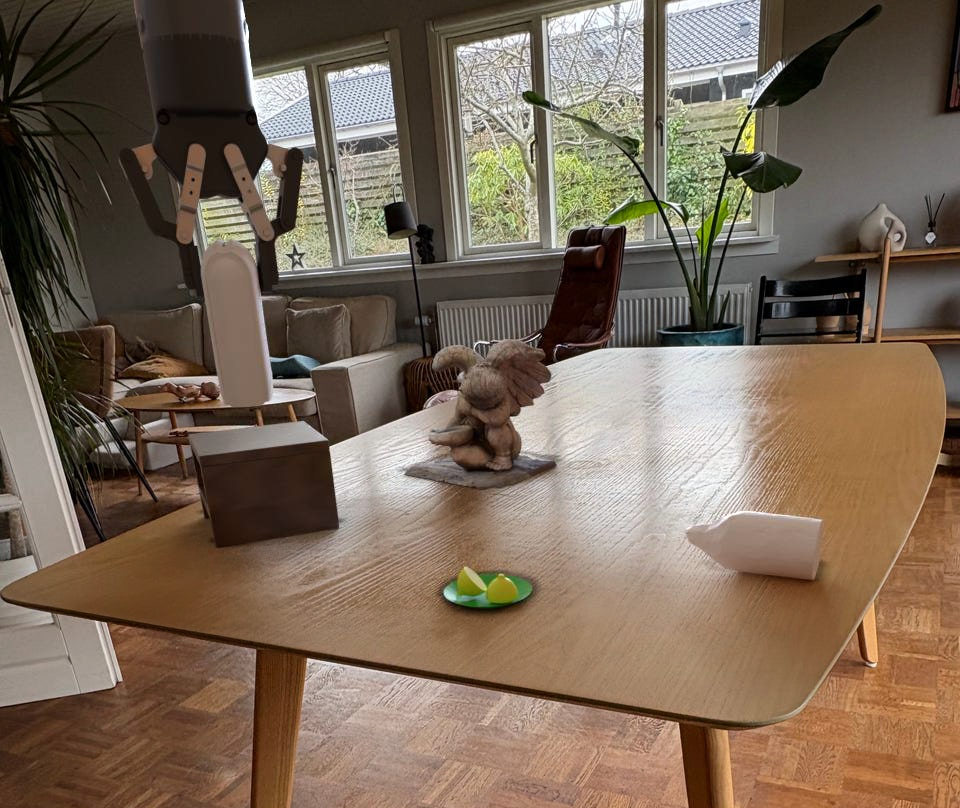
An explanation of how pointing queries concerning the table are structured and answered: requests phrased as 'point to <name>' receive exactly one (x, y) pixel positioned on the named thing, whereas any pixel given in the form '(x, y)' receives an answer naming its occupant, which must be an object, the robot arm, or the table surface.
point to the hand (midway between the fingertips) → (233, 293)
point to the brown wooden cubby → (265, 482)
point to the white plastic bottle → (762, 543)
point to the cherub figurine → (488, 416)
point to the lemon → (486, 590)
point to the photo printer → (236, 324)
